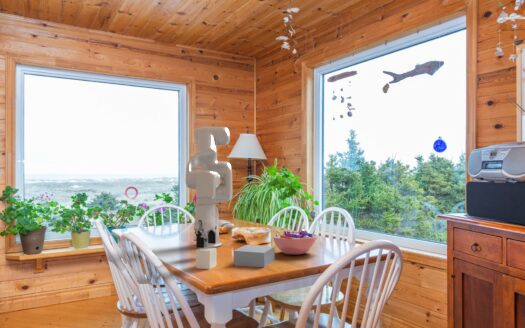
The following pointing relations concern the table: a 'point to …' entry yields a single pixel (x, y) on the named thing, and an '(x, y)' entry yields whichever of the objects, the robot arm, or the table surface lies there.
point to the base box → (254, 255)
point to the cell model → (294, 242)
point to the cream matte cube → (206, 258)
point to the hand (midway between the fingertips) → (206, 245)
